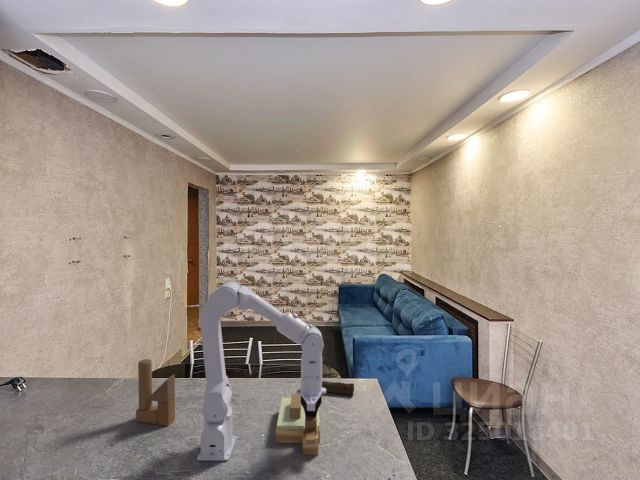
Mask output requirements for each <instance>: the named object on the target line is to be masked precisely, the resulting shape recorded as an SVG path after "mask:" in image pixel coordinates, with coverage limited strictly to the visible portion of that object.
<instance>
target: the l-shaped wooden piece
mask: <svg viewBox="0 0 640 480" xmlns="http://www.w3.org/2000/svg"><path fill="white" fill-rule="evenodd" d="M316 429H317V417H305V434H306V444H315V434H316Z"/></svg>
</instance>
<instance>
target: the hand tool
mask: <svg viewBox="0 0 640 480" xmlns="http://www.w3.org/2000/svg"><path fill="white" fill-rule="evenodd" d="M322 388H326V393H331V394H332V393H334V394H340V395H341V394H342V395H350V396H351V397H354V392H355V384H354V383H351V382H350V383H344V382H333V381H326V380H325V381H323V380H322Z"/></svg>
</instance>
